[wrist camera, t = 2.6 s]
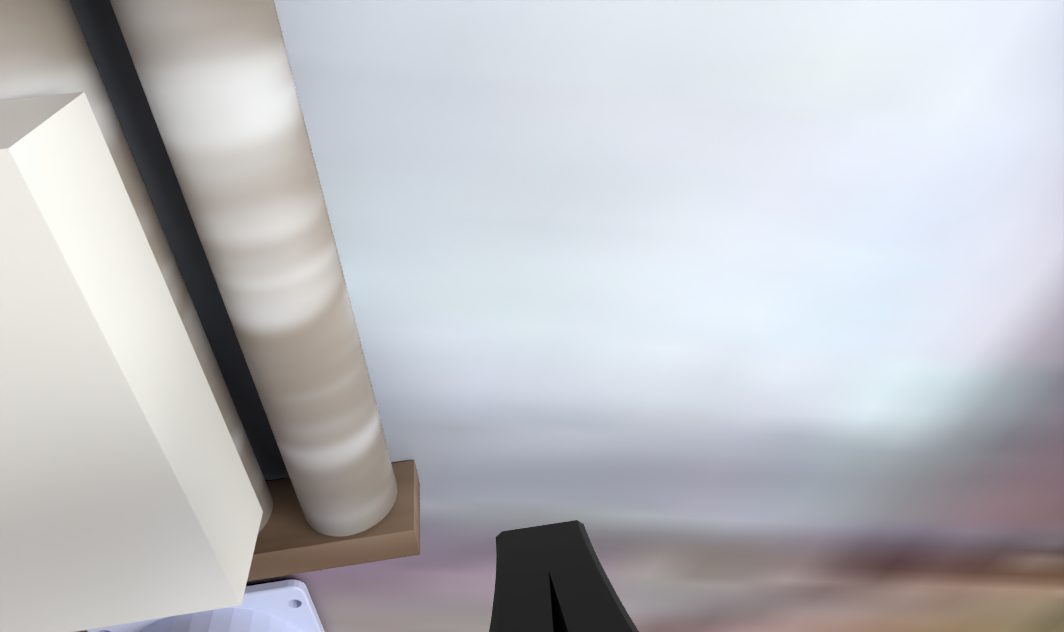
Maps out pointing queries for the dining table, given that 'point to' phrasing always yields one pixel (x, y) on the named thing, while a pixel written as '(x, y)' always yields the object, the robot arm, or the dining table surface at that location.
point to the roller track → (246, 257)
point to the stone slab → (101, 402)
